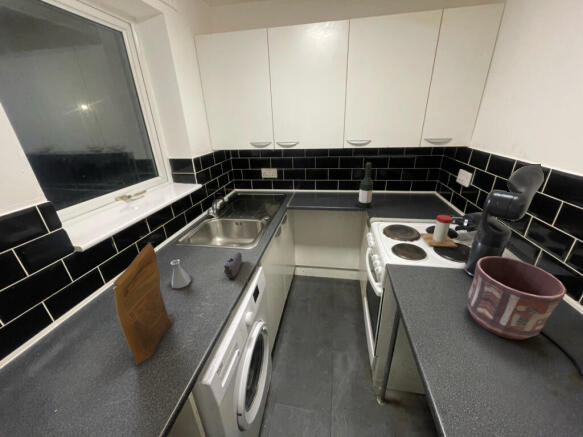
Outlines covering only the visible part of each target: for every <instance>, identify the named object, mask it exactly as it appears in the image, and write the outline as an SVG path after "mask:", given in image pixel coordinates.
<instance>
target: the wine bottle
mask: <svg viewBox="0 0 583 437" xmlns="http://www.w3.org/2000/svg"><path fill="white" fill-rule="evenodd" d="M371 172H372V163H371V162H366V164H365V168H364V177H363V179H362V180H361V181H360V183H359V193H358V204H357V205H358V208H360V209H365V210H367V209H370V208H371V206H372V197H373V188H374V182H373V179H372V178H371Z"/></svg>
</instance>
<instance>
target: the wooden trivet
mask: <svg viewBox="0 0 583 437" xmlns="http://www.w3.org/2000/svg"><path fill="white" fill-rule="evenodd" d="M433 234H434V233H423V232H422V233H421V234H420V235H421V237H423V240H424V241H425V242H426V243H427V245H428V246H429V247H435V248H455V249H458V246H459V245H457V244H456V243H455V242H454V241H453V239H452V238H451V237H450V236H449V235H448V234H447V237H446V241H445V242H437V241H435V240H433Z"/></svg>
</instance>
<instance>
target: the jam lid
mask: <svg viewBox="0 0 583 437" xmlns="http://www.w3.org/2000/svg"><path fill="white" fill-rule="evenodd" d="M436 221H439V222H442V223H450V224H451V221H452V218H451V217H450V216H447V215H446V214H438V215H437V216H436Z"/></svg>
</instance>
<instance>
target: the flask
mask: <svg viewBox="0 0 583 437" xmlns="http://www.w3.org/2000/svg"><path fill="white" fill-rule="evenodd" d="M170 265H171V266H172V278H171V284H170V285H171V288H172V289H182V288H184V287H187V286H189V284H190V283H191V281H192V279H191V277H190V276H189V274H188V273H187V272H186V271H185V270H184V268H182V266H181V261H180V259H174V260H172V261H171V262H170Z"/></svg>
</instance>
